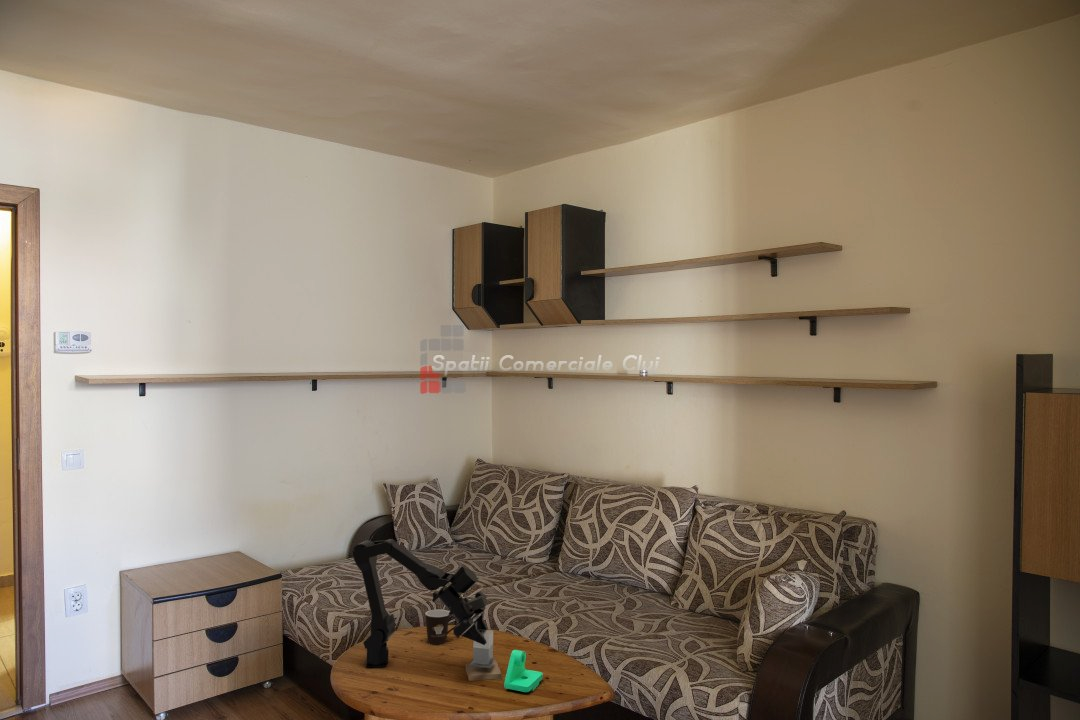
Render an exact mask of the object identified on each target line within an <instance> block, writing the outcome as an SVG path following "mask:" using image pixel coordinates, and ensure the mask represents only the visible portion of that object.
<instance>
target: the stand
mask: <svg viewBox="0 0 1080 720" xmlns="http://www.w3.org/2000/svg"><path fill="white" fill-rule="evenodd" d="M470 664H471V662H469V663H465V672H466V675H467V678H468V681H469V682H471V681H484V680H499V679H502V672H501V669H500V667H499V665H498V661H495V662H494V663H493V665H492V666H491V668H484V667H474V666H470Z"/></svg>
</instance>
